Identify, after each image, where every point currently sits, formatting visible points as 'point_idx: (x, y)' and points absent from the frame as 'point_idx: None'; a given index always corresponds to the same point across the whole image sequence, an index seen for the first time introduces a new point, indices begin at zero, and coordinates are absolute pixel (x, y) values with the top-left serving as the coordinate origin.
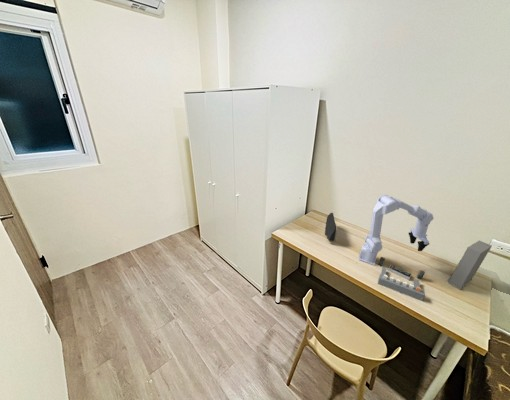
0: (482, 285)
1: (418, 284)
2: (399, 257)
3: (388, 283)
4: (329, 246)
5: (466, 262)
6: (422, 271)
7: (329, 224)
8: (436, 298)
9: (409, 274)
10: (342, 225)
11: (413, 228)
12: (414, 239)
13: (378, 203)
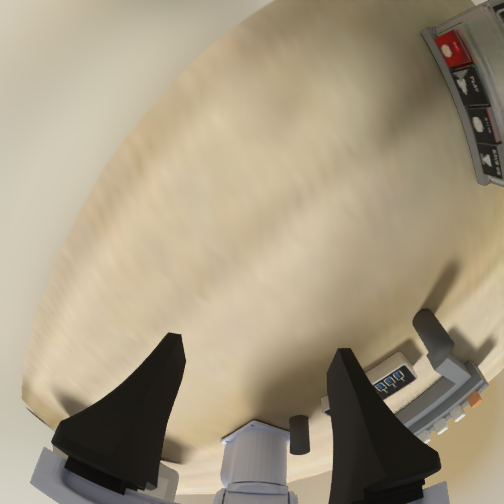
0: None
1: (456, 370)
2: (240, 321)
3: None
4: (195, 470)
5: None
6: (442, 348)
7: None
8: (498, 316)
9: (403, 372)
10: (44, 384)
11: (38, 488)
12: (159, 392)
13: None
